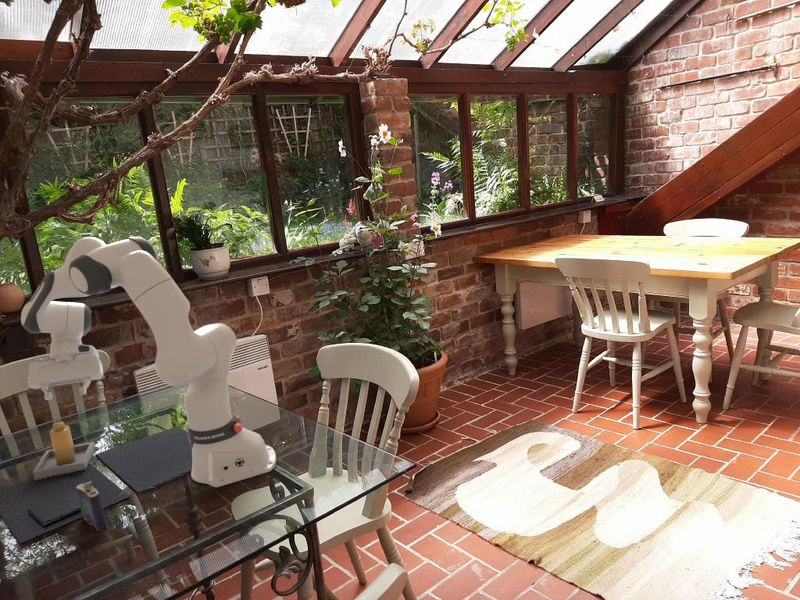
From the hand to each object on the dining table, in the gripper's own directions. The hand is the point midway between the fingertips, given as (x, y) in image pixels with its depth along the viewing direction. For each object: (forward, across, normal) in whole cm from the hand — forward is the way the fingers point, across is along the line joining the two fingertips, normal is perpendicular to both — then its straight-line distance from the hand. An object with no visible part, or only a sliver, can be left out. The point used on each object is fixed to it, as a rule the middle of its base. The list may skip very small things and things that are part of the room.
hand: (65, 396), depth 180 cm
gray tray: (+20, 0, +3) cm, 20 cm away
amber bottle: (+19, 0, +3) cm, 19 cm away
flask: (+44, +14, -22) cm, 51 cm away
